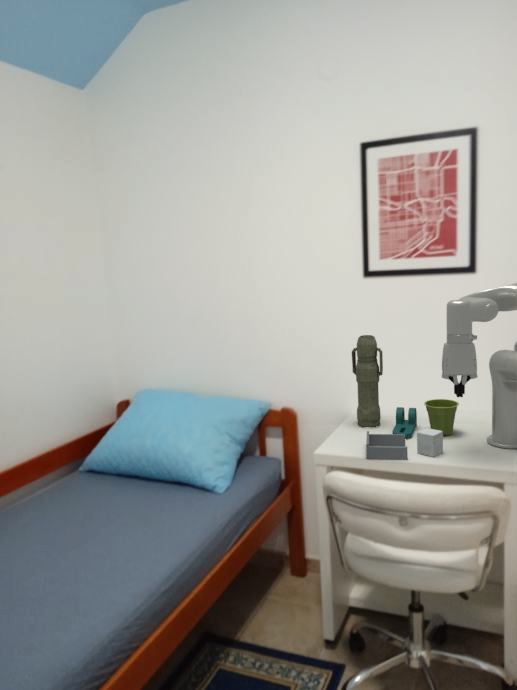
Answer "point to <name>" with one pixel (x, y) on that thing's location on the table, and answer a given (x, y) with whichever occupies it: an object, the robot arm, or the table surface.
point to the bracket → (405, 422)
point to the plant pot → (441, 414)
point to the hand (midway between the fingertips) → (459, 396)
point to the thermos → (367, 380)
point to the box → (379, 451)
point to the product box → (430, 442)
